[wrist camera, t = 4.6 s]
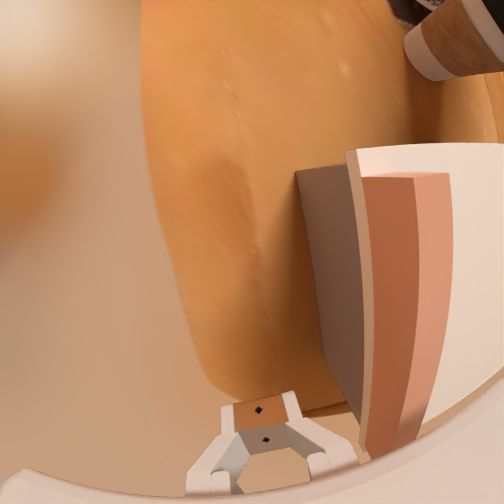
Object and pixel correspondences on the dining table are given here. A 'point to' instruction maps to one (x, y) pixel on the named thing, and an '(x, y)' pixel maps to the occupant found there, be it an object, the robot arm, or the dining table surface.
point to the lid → (427, 280)
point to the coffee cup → (458, 40)
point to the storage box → (336, 274)
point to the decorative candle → (431, 3)
